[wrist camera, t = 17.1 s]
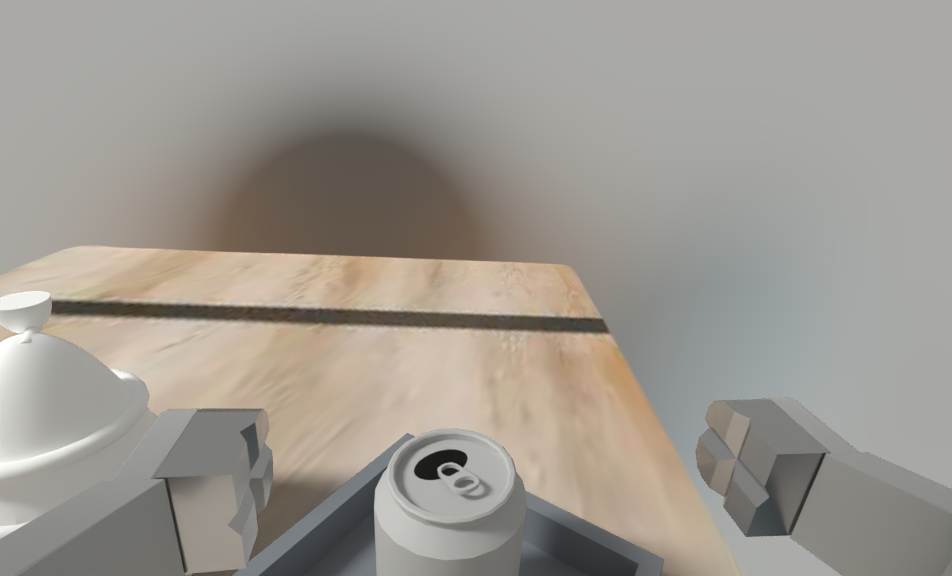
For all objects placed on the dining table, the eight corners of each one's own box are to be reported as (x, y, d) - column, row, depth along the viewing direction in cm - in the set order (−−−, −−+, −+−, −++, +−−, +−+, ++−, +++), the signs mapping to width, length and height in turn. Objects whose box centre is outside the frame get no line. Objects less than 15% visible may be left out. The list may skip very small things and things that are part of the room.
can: (464, 552, 33) (473, 402, 29) (539, 652, 28) (563, 484, 23) (358, 612, 29) (347, 447, 25) (419, 743, 24) (421, 561, 19)
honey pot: (-14, 533, 34) (-120, 291, 27) (198, 468, 41) (155, 259, 34) (-74, 726, 24) (-266, 420, 17) (219, 599, 31) (164, 340, 24)
